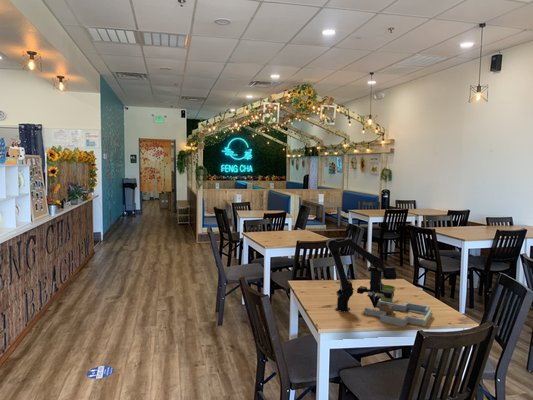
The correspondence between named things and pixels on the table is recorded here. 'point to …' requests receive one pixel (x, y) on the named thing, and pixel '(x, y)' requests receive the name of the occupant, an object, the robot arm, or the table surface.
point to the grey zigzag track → (410, 306)
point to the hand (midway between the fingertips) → (374, 307)
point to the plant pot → (390, 288)
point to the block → (386, 308)
